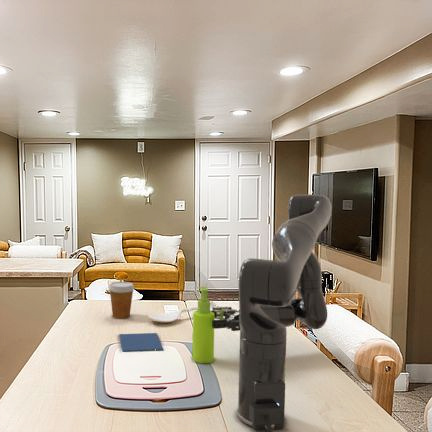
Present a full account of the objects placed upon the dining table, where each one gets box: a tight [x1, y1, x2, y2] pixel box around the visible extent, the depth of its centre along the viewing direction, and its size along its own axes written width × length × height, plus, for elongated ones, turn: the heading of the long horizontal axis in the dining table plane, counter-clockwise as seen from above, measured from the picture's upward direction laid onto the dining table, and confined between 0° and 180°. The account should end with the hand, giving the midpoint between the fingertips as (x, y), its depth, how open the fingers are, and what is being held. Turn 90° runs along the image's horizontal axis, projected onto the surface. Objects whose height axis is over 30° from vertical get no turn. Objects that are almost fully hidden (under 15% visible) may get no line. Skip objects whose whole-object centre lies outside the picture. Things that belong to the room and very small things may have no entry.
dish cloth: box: [119, 332, 164, 353], centre depth 133 cm, size 14×12×1 cm
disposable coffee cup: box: [108, 281, 135, 319], centre depth 160 cm, size 10×10×12 cm
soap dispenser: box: [191, 286, 215, 364], centre depth 120 cm, size 6×7×20 cm
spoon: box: [147, 301, 228, 323], centre depth 159 cm, size 9×32×4 cm, turn 121°
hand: (206, 319), depth 121 cm, fingers open, 8 cm apart
